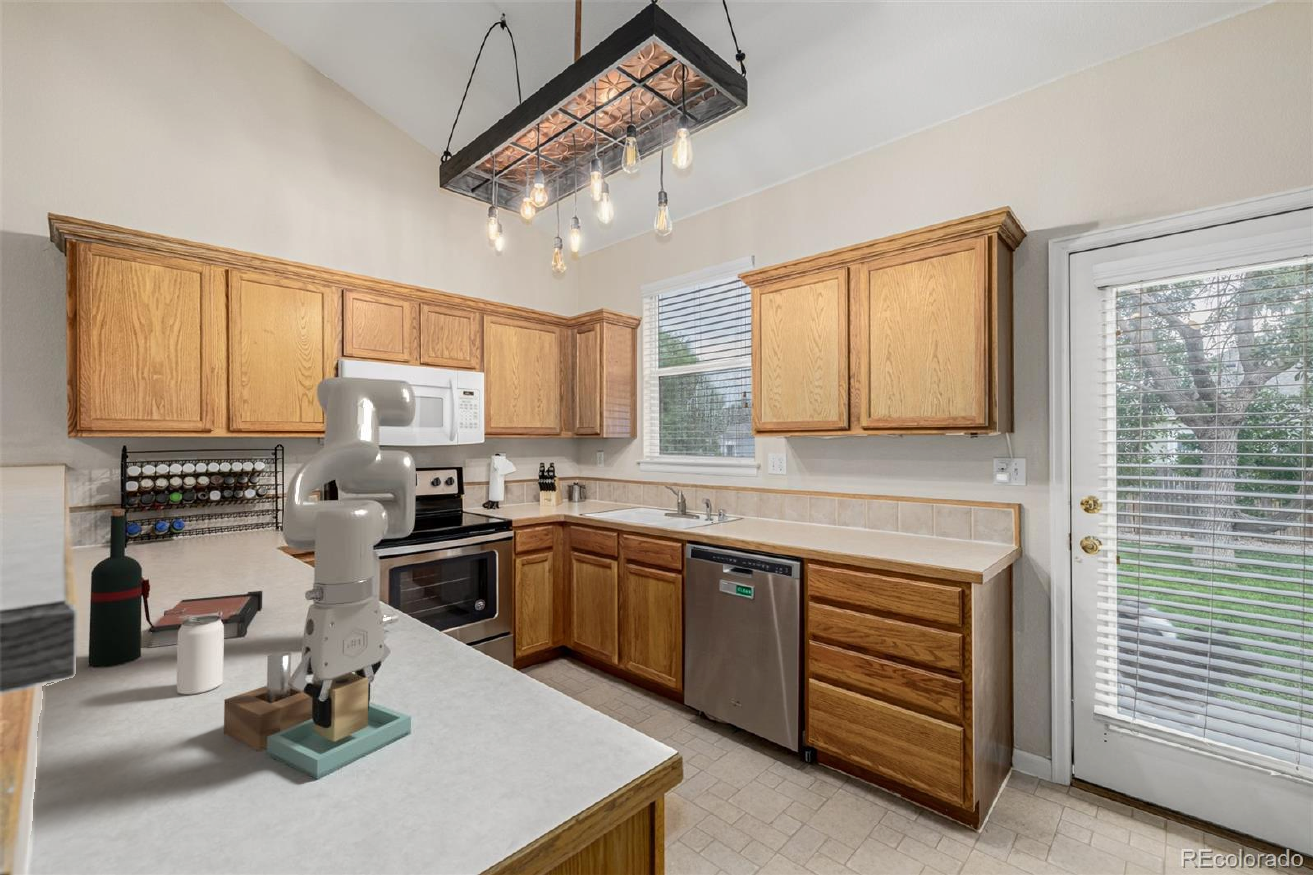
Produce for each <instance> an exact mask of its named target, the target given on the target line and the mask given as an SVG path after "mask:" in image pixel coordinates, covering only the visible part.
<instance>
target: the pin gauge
mask: <svg viewBox="0 0 1313 875" xmlns="http://www.w3.org/2000/svg"><path fill="white" fill-rule="evenodd" d="M291 657H292V653H291V651H278V652H274V653H271V654H269V655H267V666H266V667H267V668H266V670H267V672H266V675H267V676H266V686H267V702H268V703H273V702H276V701H279V700H282V699H284V698H287V697H290V685H288V680H289V679H290V677H291V676H292V675H291V664H292V658H291Z"/></svg>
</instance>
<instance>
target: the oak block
mask: <svg viewBox="0 0 1313 875" xmlns="http://www.w3.org/2000/svg"><path fill="white" fill-rule="evenodd" d="M368 684H369V679H368V678H365V677H362V676H359V675H356V674H355V673H354V672H352V673H349V674H346V675H344V676H341V677H338V678H335V679H332V683H331V686H330V690H329V694H328V698H330V699H331V726H330V727H329V728H326V729H325V728H323V727H321V726H318V725H316V724H315V723H314V728H313V732H314V733H316V734H318V735H320V736H323V737H325V738H327V739H329V740H331V741H334V742H335V741H337V740H339V739H341V738H344V737H346V736H348V735H350V734H353V733H355V732H357V731H359V730H361V729H364V728H366V727H367V725H368Z"/></svg>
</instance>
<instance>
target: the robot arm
mask: <svg viewBox="0 0 1313 875" xmlns="http://www.w3.org/2000/svg"><path fill="white" fill-rule="evenodd" d="M316 396H317V400H318V403H319V406H320V407H321V410H322V411H323V413H324V414H325V428H324V438H323V447H322V449H320V450H319V451H317V452H316V453H314V454H313V455H312V456H311V457H309V458H308V459H307V460H306V461H305V462H304V463H303V464H301V466H300V467H299V468H298V470H296V472H295V473H294V475H293V476H292V477H291V479H290V482H289V484H288V486H287V491H286V496H285V503H284V511H283V519H282V535H283V536H282V537H283V539H284V541H285V544H286V545H287V546H288V547H289V548H290V549H293V550H296V551H303V552H304V551H314V570H313V571H314V572H313V573H314V575H313V576H314V577H313V578H314V580H313V581H314V582H313V583H312V588H311V589H310V590H306V592H305V593H304V595H305V600H306V601H311V600H312V602H313V603H312V604H310V605H309V607H308V610H307V615H306V620H305V624H304V629H303V636H302V637H303V638H302V645H301V646H302V647H301V660H300V663H299V664H298V665H297V667H296V669H295V670H294V671H293V673H292V675H290V679H289V680H288V685H290V686H292V687H294V688H297V689H299V690H301V691H303V692H304V693H306V694H307V695H309V696H310V697H312V698H313V700H312V719H313V721H314V723H315V724H316V725H318V726H321V727H323V728H325V729H326V728H329V727H330V726H331V699H330V698H328V694H329V690H330V686H331V683H332V679H335V678H338V677H341V676H344V675H346V674H349V673H354V674H356V675H359V676H362V677H365V678H368V679H369V684H368V710H369V702H371V701H370V700H371V683H373V682H374V681H375V675H376V674H377V672H378V671H379V669H380V668H381V666H382V663H384V661H385V660H386V659H387V658H388V657H389V656H390V654H391V649H390V648H389V646H387V644H385V639H386V638H387V630H386V629H385V627H386V626H387V625H390V624H395V623H398V621H399V615H398V613H393V614H389V615H387V616H386V614H383V612H382V609H381V603H380V587H381V586H380V583H381V581H380V580H381V579H380V578H381V576H380V574H381V573H380V572H381V561H380V557H379V554H378V553H377V551H376V550H375V549H374V546H376V545H377V544H379V543H380V542H381V540H389V539H403V538H405V537H408V536H410V535H411V533H413V530H414V528H415V522H416V521H415V520H416V486H417V485H416V484H417V481H416V479H417V478H416V477H417V474H416V473H417V472H416V470H417V469H416V463H415V460H414V457H413V456H412V455H411V454H410V453H409V452H406V451H403V450H382V449H380V427H390V428H391V427H393V428H394V427H395V428H396V427H399V428H400V427H401V428H402V427H403V428H404V427H409V426H411V424H412V423H413V422H414V419H415V416H416V408H417V407H416V406H417V405H416V403H417V402H416V396H415V393H414V390H413V388H412V385H411V384H410V383H409V381H406V380H402V379H401V380H400V379H399V380H398V379H385V378H384V379H381V378H368V377H367V378H366V377H353V376H352V377H349V376H347V377H346V376H340V377H339V376H336V377H327V378H324V379H322V380H321V381H320V382H318V384H317V388H316ZM334 480H335V484H336V487H337V489H338V491H340V492H342V493H344V494H348V495H349V494H350V495H378V494H379V495H382V494H385V495H386V494H390V495H388V496H387V495H386V496H353V497H352V496H351V497H344V498H340V499H337V500H336V499H335V500H309V501H308V499H309V498H310V496H311V495H312V493H314V492H315V491H316V490H317V489H319V488H320V487H321V486H324V485H326V484H328V483H329V482H332V481H334ZM391 495H392V496H391ZM307 676H312V678H311V682H310V683H309V681H307V679H306V678H307Z"/></svg>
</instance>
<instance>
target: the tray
mask: <svg viewBox="0 0 1313 875" xmlns="http://www.w3.org/2000/svg"><path fill="white" fill-rule="evenodd" d="M313 728H314V721H313V719H310V720H308V721H305V722H303V723H300V724H298V725H295V726H293V727H290V728H288V729H285V730H283V731H280V732H278V733H275V734H273V735H270V736H268V737H267V748H266V755H267V756H268V757H271V758H273V759H275V760H276V761H278V762H280V763H282V764H285V765H286V766H289V767H291V768H293V769H295V770H297V771H299V772H301V773H303V774H305V775H306V776H309V777H311V778H313V779H315V780H320V779H321V778H324V777H325V776H327V775H330V774H332V773H333V772H336V771H338V770H340V769H342V768H344V767H345V766H347V765H350V764H352V763H353V762H356V761H358V760H359V759H361V758H364V757H366V756H368V755H370V754H372V753H374V752H376V751H378V750H380V749H381V748H384V747H386V746H388V745H390V744H392V743H394V742H396V741H398V740H400V739H402V738H405V737H406V736H408V735H410V734H411V733H412V729H411V728H412V716H410V715H408V714H405V713H402V712H399V711H397V710H394V709H391V708H387V707H385V706H383V705H379V704H376V703H374V702H371V701H369V710H368V725H367V727H366V728H364V729H361V730H359V731H357V732H355V733H353V734H350V735H348V736H346V737H344V738H341V739H339V740H337V741H335V742H334V741H331V740H329V739H327V738H325V737H323V736H320V735H318V734H316V733H314V732H313Z"/></svg>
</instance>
